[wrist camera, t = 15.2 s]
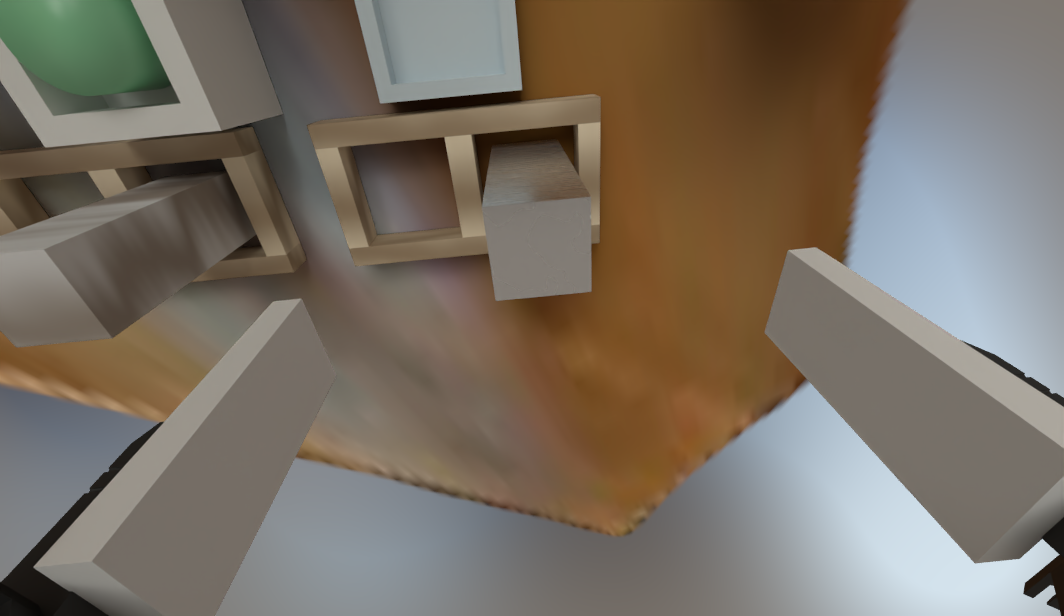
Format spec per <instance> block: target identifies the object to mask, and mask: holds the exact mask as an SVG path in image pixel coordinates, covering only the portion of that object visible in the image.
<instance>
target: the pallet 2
mask: <svg viewBox="0 0 1064 616" xmlns="http://www.w3.org/2000/svg"><path fill="white" fill-rule="evenodd" d="M600 109H601V97H599V96H597V95H595V94H589V95H579V96H569V97H558V98H548V99H537V100H527V101H516V102H506V103H496V104H485V105H475V106H464V107H454V108H443V109H433V110H423V111H412V112H402V113H391V114H381V115H371V116H360V117H350V118H339V119H329V120H320V121H317V122H315V123H312V124H309V125H307V128H308V131H309V134H310V137H311V139H312V142H313V145H314V148H315V151H316V154H317V157H318V160H319V163H320V166H321V168H322V171H323V174H324V177H325V180H326V183H327V186H328V189H329V192H330V195H331V197H332V200H333V203H334V206H335V209H336V212H337V215H338V218H339V221H340V224H341V226H342V229H343V232H344V235H345V238H346V241H347V244H348V247H349V250H350V253H351V255H352V258H353V261H354V264H355V266H364V265H374V264H384V263H395V262H405V261H416V260H426V259H436V258H447V257H457V256H468V255H478V254H488V246H487V239H486V233H485V226H484V219H483V213H482V202H483V190H482V183H481V176H480V169H479V163H478V156H477V149H476V142H475V135H474V134H482V133H492V132H503V131H513V130H524V129H534V128H545V127H555V126H565V125H573V131H574V168H575V170H576V172H577V174H578V175H579V177H580V179H581V180H582V182H583V184H584V186H585V187H586V189H587V191H588V192H589V194H590V196H591V244H592V243H600ZM440 137H444V138H445V143H446V149H447V154H448V160H449V165H450V171H451V176H452V182H453V187H454V193H455V198H456V204H457V209H458V215H459V220H460V226H461V227H455V228H444V229H434V230H424V231H413V232H403V233H392V234H382V235H377V233H376V229H375V226H374V223H373V219H372V216H371V213H370V209H369V206H368V202H367V199H366V196H365V192H364V189H363V186H362V182H361V179H360V176H359V172H358V169H357V166H356V162H355V159H354V156H353V152H352V149H351V146H357V145H367V144H378V143H388V142H399V141H409V140H420V139H430V138H440Z"/></svg>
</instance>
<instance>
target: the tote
mask: <svg viewBox="0 0 1064 616" xmlns="http://www.w3.org/2000/svg"><path fill="white" fill-rule="evenodd" d="M354 1H355V5H356V9H357V13H358V17H359V21H360V25H361V29H362V33H363V37H364V41H365V45H366V49H367V53H368V57H369V61H370V65H371V69H372V73H373V77H374V81H375V85H376V89H377V93H378V97H379V101H380V104H381V103H391V102H402V101H412V100H423V99H433V98H444V97H454V96H464V95H475V94H485V93H496V92H506V91H517V90H522V81H521V69H520V57H519V45H518V33H517V21H516V9H515V0H354Z"/></svg>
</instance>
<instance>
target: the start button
mask: <svg viewBox="0 0 1064 616" xmlns="http://www.w3.org/2000/svg"><path fill="white" fill-rule="evenodd" d="M0 38H1V39H2V41H3V42H4V44H5V45H6V47H7V48H8V49H9V50H10V51H11V53H12V54H13V55H14V56H15V57H16V58H17V59H18V60H19V61H20V62H21V63H22V64H23V65H24V66H25V67H26V68H27V69H28V70H30V71H31V72H32V73H34V74H35V75H36V76H38V77H39V78H41V79H42V80H44V81H45V82H47V83H49V84H50V85H52V86H54V87H56V88H58V89H61V90H63V91H66V92H69V93H72V94H76V95H82V96H98V95H108V94H118V93H128V92H138V91H147V90H157V89H163V88H166V87H168V86H170V85H172V84H171V82H170V80H169V78H168V76H167V74H166V72H165V70H164V68H163V66H162V63H161V61H160V59H159V57H158V55H157V53H156V51H155V49H154V47H153V45H152V43H151V41H150V39H149V37H148V34H147V32H146V30H145V28H144V26H143V24H142V22H141V20H140V18H139V16H138V14H137V12H136V10H135V8H134V5H133V3H132V1H131V0H0Z"/></svg>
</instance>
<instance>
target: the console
mask: <svg viewBox="0 0 1064 616" xmlns="http://www.w3.org/2000/svg"><path fill="white" fill-rule="evenodd" d="M131 1H132V3H133V5H134V8H135V10H136V12H137V14H138V16H139V18H140V20H141V22H142V24H143V26H144V28H145V30H146V32H147V34H148V37H149V39H150V41H151V43H152V45H153V47H154V49H155V51H156V53H157V55H158V57H159V59H160V61H161V63H162V66H163V68H164V70H165V72H166V74H167V76H168V78H169V80H170V82H171V84H172V85H170V86H168V87H166V88H163V89H157V90H147V91H138V92H128V93H118V94H108V95H98V96H82V95H76V94H72V93H69V92H66V91H63V90H61V89H58V88H56V87H54V86H52V85H50V84H49V83H47V82H45V81H44V80H42V79H41V78H39V77H38V76H36V75H35V74H34V73H32V72H31V71H30V70H28V69H27V68H26V67H25V66H24V65H23V64H22V63H21V62H20V61H19V60H18V59H17V58H16V57H15V56H14V55H13V54H12V53H11V51H10V50H9V49H8V48H7V47H6V45H5V44H4V42H3V41H2V39H1V38H0V81H1V83H2V84H3V86H4V87H5V89H6V90H7V92H8V93H9V95H10V96H11V98H12V99H13V101H14V102H15V104H16V105H17V106H18V108H19V109H20V111H21V112H22V114H23V115H24V117H25V118H26V120H27V121H28V123H29V124H30V126H31V127H32V129H33V130H34V132H35V133H36V135H37V136H38V138H39V139H40V140H41V142H42V143H43V145H44V146H45V148H46V147H56V146H67V145H77V144H87V143H98V142H108V141H119V140H129V139H140V138H150V137H160V136H171V135H181V134H192V133H202V132H213V131H222V130H226V129H230V128H233V127H237V126H241V125H245V124H248V123H252V122H256V121H260V120H263V119H267V118H271V117H274V116H278V115H282V114H283V112H282V109H281V107H280V104H279V101H278V98H277V96H276V93H275V90H274V88H273V85H272V82H271V79H270V77H269V74H268V71H267V68H266V66H265V63H264V60H263V58H262V55H261V52H260V49H259V47H258V44H257V41H256V39H255V36H254V33H253V30H252V28H251V25H250V22H249V20H248V17H247V14H246V11H245V9H244V6H243V3H242V1H241V0H131Z"/></svg>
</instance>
